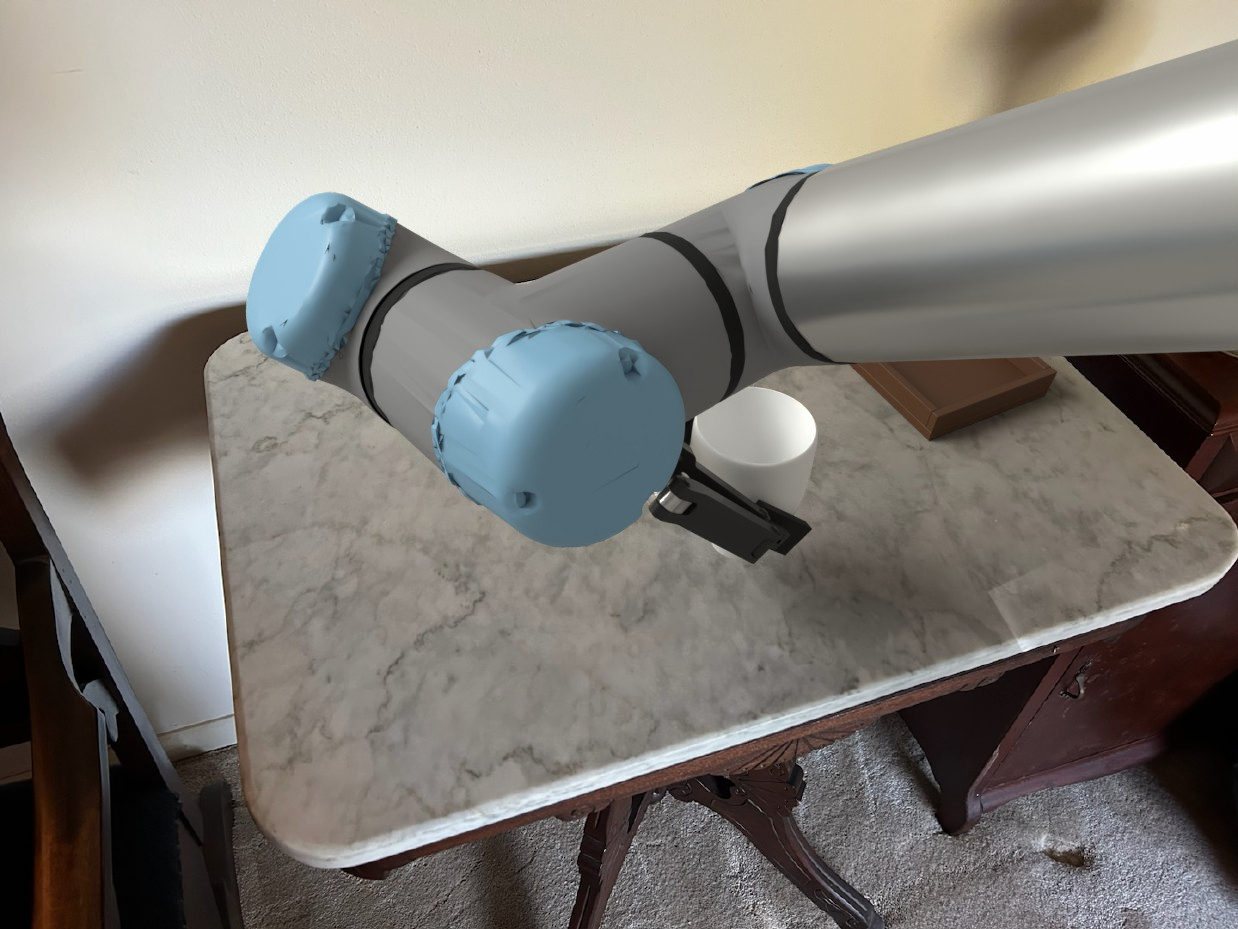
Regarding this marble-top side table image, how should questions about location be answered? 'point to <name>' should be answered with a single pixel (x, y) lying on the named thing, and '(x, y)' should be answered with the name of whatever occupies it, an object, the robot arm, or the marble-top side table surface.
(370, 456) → the marble-top side table surface
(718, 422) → the mug
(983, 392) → the tray
